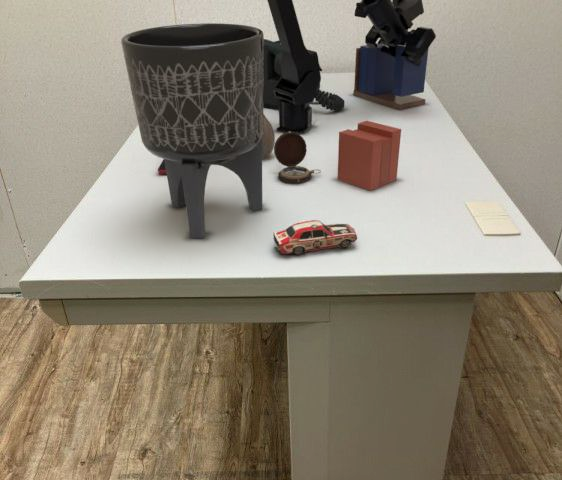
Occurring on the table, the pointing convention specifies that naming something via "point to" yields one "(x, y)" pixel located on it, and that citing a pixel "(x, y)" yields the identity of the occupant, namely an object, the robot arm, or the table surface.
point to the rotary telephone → (275, 72)
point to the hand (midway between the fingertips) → (415, 63)
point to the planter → (200, 106)
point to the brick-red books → (369, 155)
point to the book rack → (385, 98)
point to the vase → (267, 138)
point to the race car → (313, 237)
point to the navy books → (375, 71)
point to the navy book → (408, 74)
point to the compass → (292, 157)
